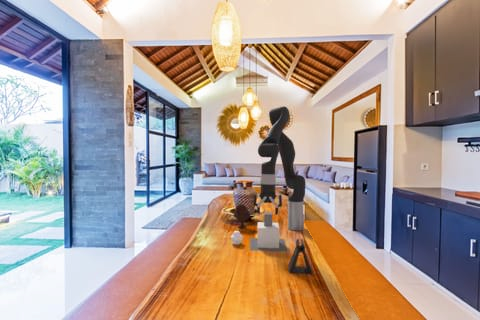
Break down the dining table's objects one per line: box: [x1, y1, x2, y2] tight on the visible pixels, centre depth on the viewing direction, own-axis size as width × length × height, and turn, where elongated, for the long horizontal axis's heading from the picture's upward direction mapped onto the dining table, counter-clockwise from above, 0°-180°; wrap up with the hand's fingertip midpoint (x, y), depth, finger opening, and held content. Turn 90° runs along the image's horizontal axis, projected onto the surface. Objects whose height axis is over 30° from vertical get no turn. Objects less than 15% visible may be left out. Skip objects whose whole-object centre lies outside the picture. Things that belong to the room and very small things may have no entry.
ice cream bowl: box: [233, 203, 252, 229], centre depth 169 cm, size 11×11×15 cm
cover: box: [257, 212, 280, 248], centre depth 138 cm, size 11×11×16 cm
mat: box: [249, 237, 288, 252], centre depth 138 cm, size 18×18×1 cm
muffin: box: [230, 230, 244, 246], centre depth 139 cm, size 6×6×7 cm
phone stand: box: [288, 238, 313, 275], centre depth 109 cm, size 9×6×12 cm, turn 82°
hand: (267, 214), depth 138 cm, fingers open, 8 cm apart
